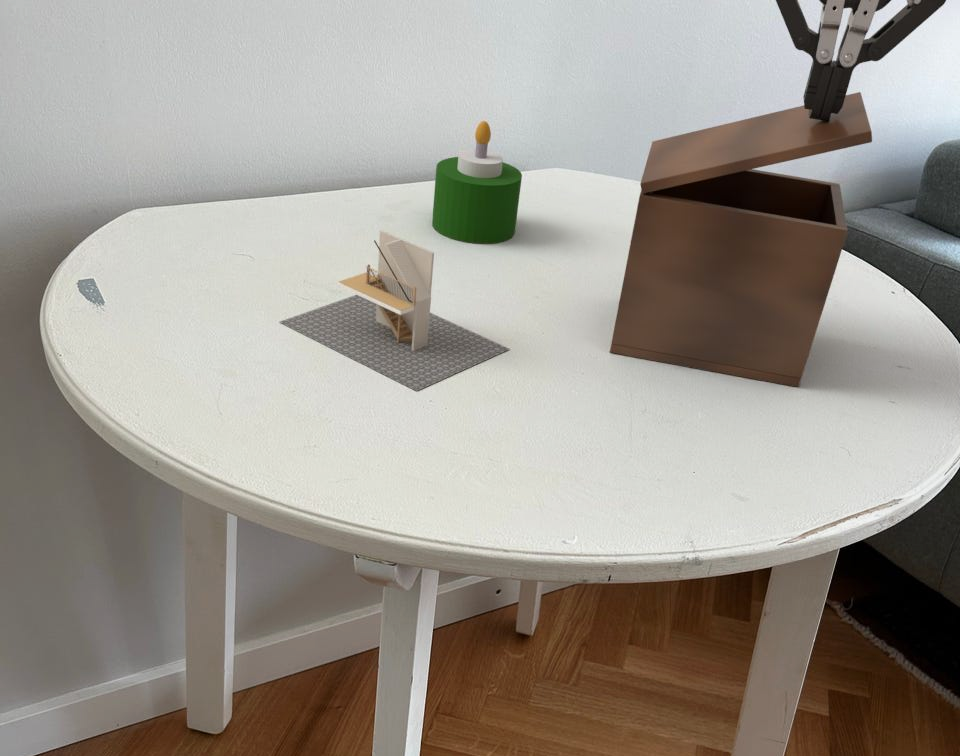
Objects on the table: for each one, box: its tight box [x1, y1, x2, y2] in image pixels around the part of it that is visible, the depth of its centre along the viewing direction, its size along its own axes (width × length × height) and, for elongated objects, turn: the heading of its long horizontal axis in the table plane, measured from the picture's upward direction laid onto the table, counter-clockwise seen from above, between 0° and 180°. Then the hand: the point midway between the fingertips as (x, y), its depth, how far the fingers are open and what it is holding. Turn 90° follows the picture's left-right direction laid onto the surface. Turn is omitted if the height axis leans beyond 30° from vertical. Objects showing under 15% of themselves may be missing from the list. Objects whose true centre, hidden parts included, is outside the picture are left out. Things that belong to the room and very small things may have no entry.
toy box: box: [609, 169, 849, 388], centre depth 91 cm, size 16×12×13 cm
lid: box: [639, 91, 873, 193], centre depth 85 cm, size 16×12×1 cm
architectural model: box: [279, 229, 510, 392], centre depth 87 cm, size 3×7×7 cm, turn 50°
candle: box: [431, 120, 523, 244], centre depth 107 cm, size 8×8×10 cm
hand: (818, 117), depth 83 cm, fingers closed
